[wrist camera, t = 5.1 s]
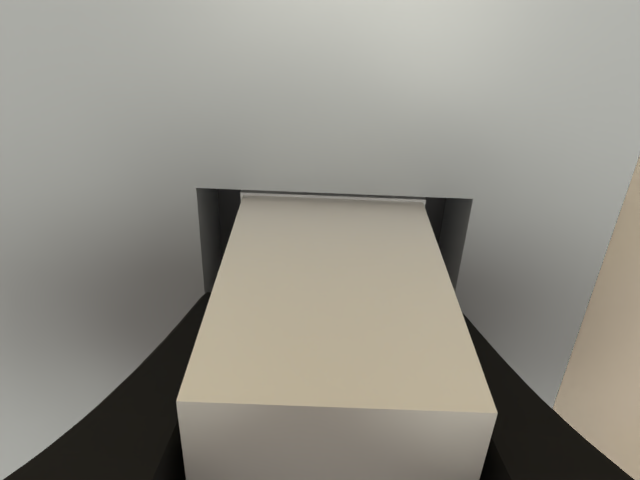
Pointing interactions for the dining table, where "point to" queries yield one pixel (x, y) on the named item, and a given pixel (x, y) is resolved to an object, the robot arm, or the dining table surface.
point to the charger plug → (333, 349)
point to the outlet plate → (295, 165)
